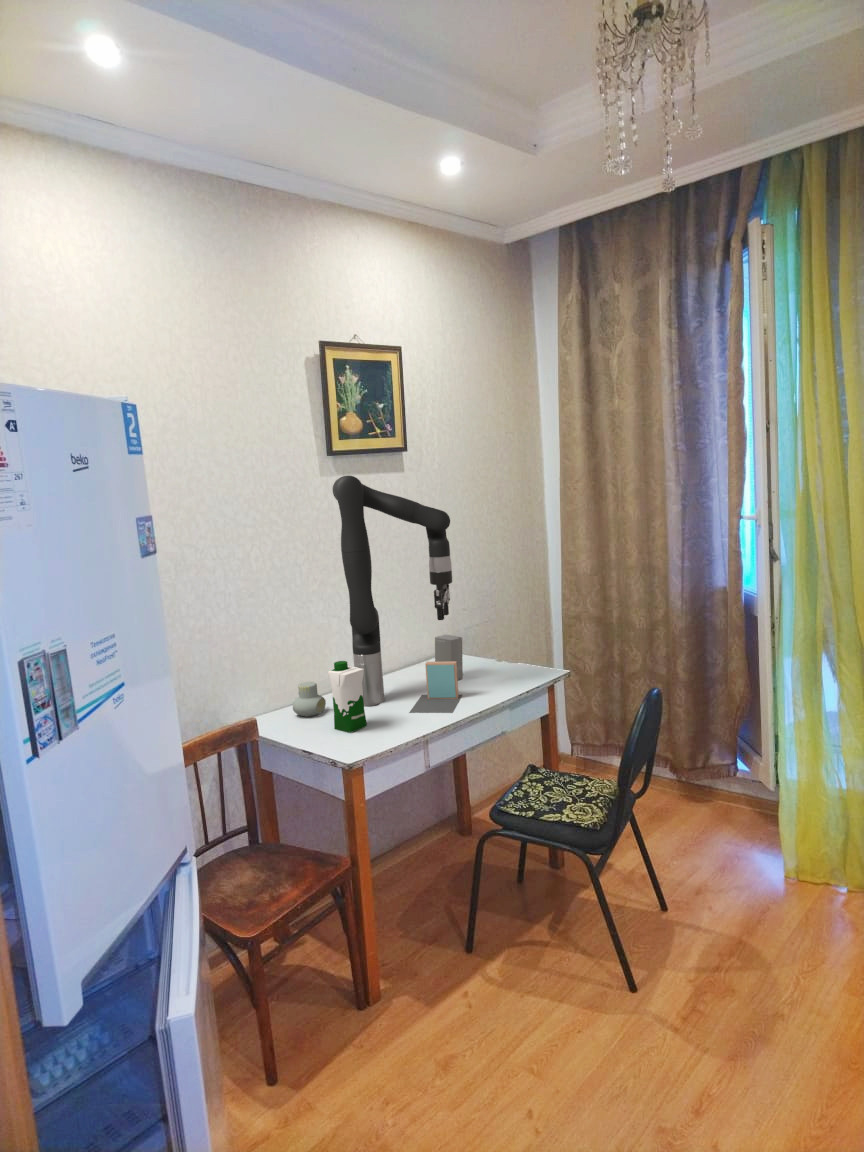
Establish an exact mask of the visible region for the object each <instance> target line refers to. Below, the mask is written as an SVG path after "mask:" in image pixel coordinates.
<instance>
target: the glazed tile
mask: <svg viewBox="0 0 864 1152" xmlns="http://www.w3.org/2000/svg"><path fill="white" fill-rule="evenodd" d="M424 665H425V677H426V693H427V694H426V695H428V699H458V697H459V680H458V677H457V661H446V662H435V661H426V662H425V664H424Z"/></svg>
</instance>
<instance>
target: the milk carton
mask: <svg viewBox="0 0 864 1152" xmlns="http://www.w3.org/2000/svg"><path fill="white" fill-rule="evenodd" d="M333 668H334V669H331V670H329V671H327V673H328V677H329V681H330V684H331V685H330V686H331V694H332V704H333V720H334V721H333V725H334V728H333V729H335V730H337V731H340V732H345V733H349V734H352V733H354V732H357V731H358V730H359V731H360V729H364V728H366V727H368V724H367V718H366V717H367V716H366V712H365V711H366V710H365V706H364V700H363V687H362V680H363V672H364V669H361V668H358V667H354V666H351V665H350V666H349V664H348V661H347V660H337V661H335V662H333Z"/></svg>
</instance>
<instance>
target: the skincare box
mask: <svg viewBox="0 0 864 1152" xmlns="http://www.w3.org/2000/svg"><path fill="white" fill-rule="evenodd" d="M446 661H457V677H458V681H460V680H462V678H464V677H463V674H464V673H463V637H462V636H457V635H453V634H452V635H450V634H442V635H438V636H435V637H434V662H446ZM459 679H460V680H459Z"/></svg>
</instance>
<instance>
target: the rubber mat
mask: <svg viewBox="0 0 864 1152" xmlns="http://www.w3.org/2000/svg"><path fill="white" fill-rule="evenodd" d="M462 697H463V694H459V697H458V699H428V695H427V694H421V695H420V697H419V698H418V700H416V702H415V704H414V705H413V707H412V708H411V709H410V710H409V712H408V714H453V713H454V712H455V710H456V708H457V706H458V704H459V703H460V701H461V699H462Z"/></svg>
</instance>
